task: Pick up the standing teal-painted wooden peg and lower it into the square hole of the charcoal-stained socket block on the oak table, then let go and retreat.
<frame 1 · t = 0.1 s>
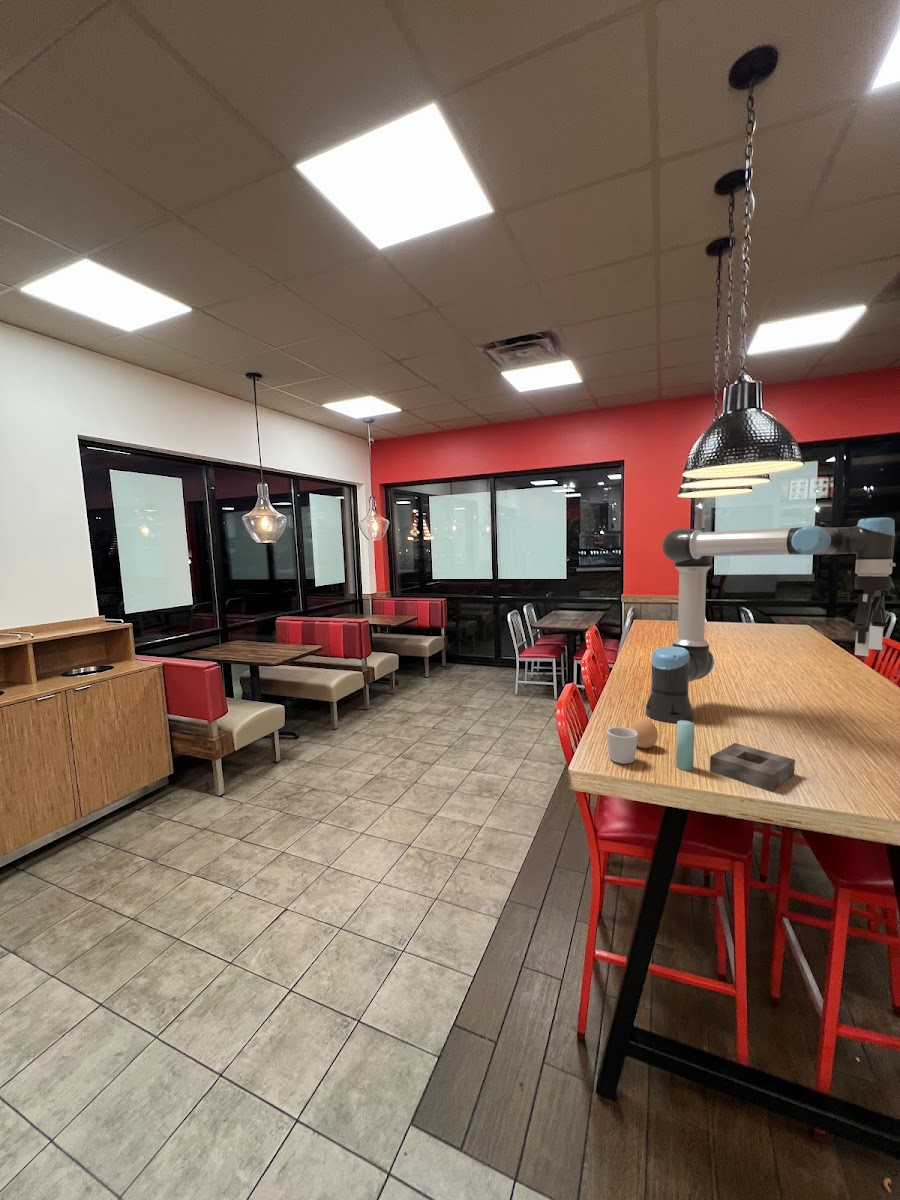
hand: (868, 652, 131), 28 cm above the table, fingers open, 13 cm apart
socket: (751, 772, 120), on the table
cup: (619, 758, 131), on the table
egg: (643, 748, 138), on the table
peg: (684, 767, 124), on the table
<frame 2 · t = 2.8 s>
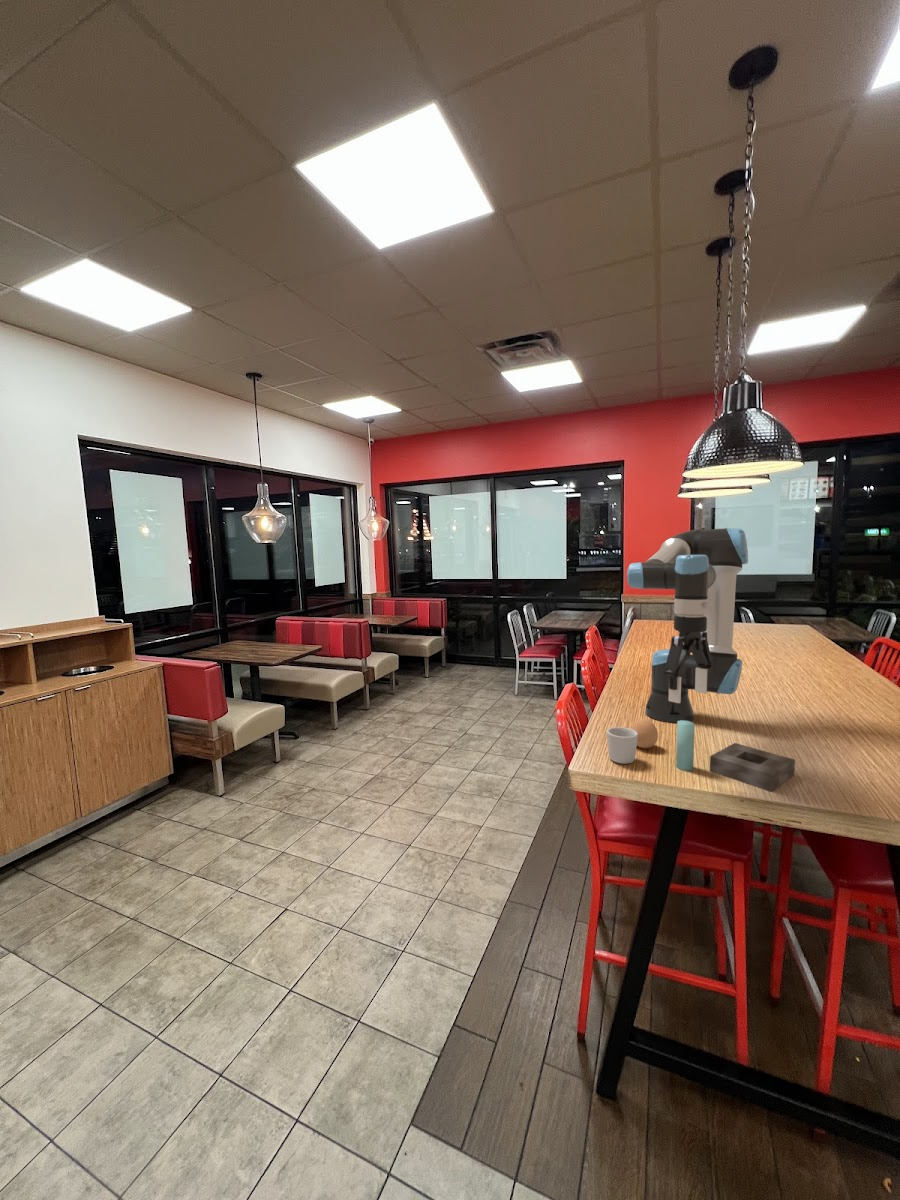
hand: (688, 697, 122), 19 cm above the table, fingers open, 13 cm apart
nothing on the table moved.
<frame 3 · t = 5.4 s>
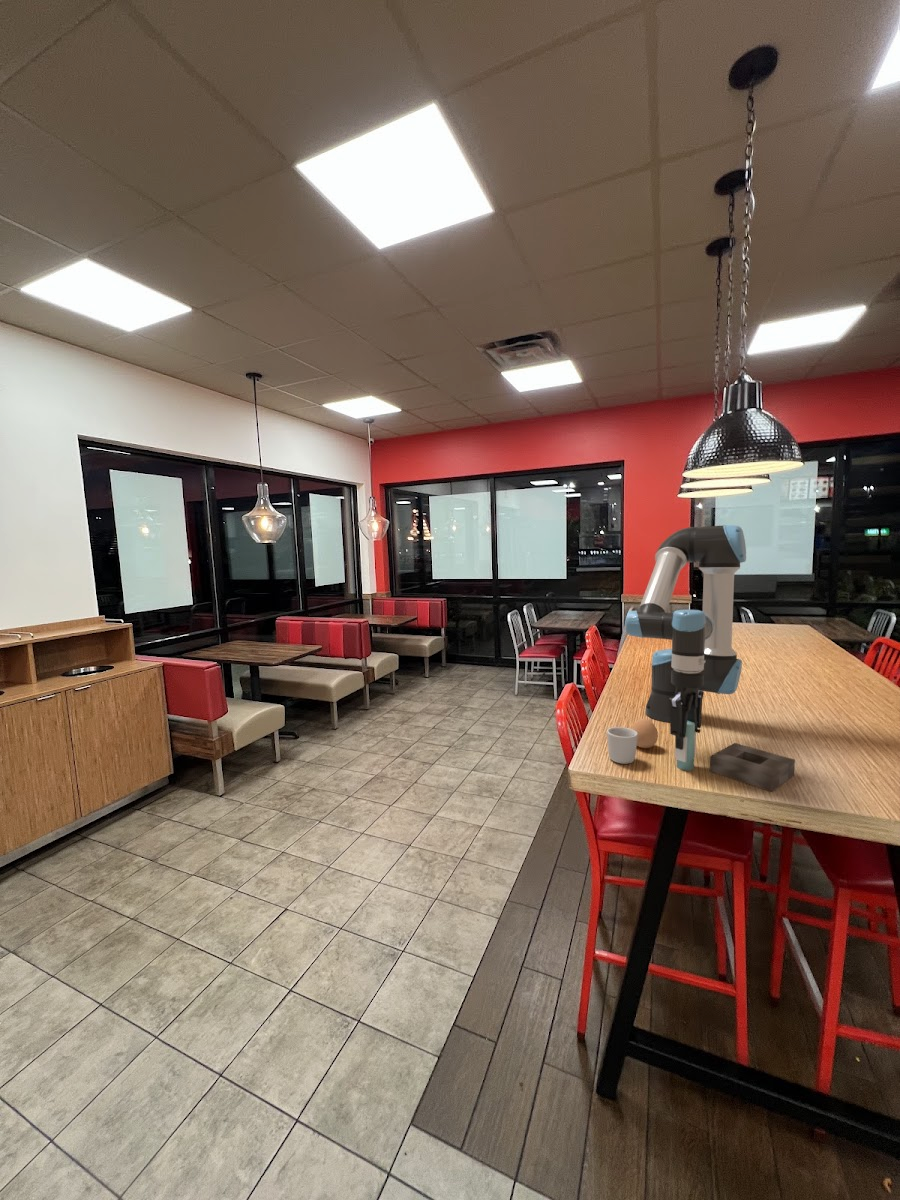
hand: (685, 757, 124), 3 cm above the table, fingers closed on peg, 4 cm apart
peg: (685, 767, 124), on the table, touching gripper
everything else where it was.
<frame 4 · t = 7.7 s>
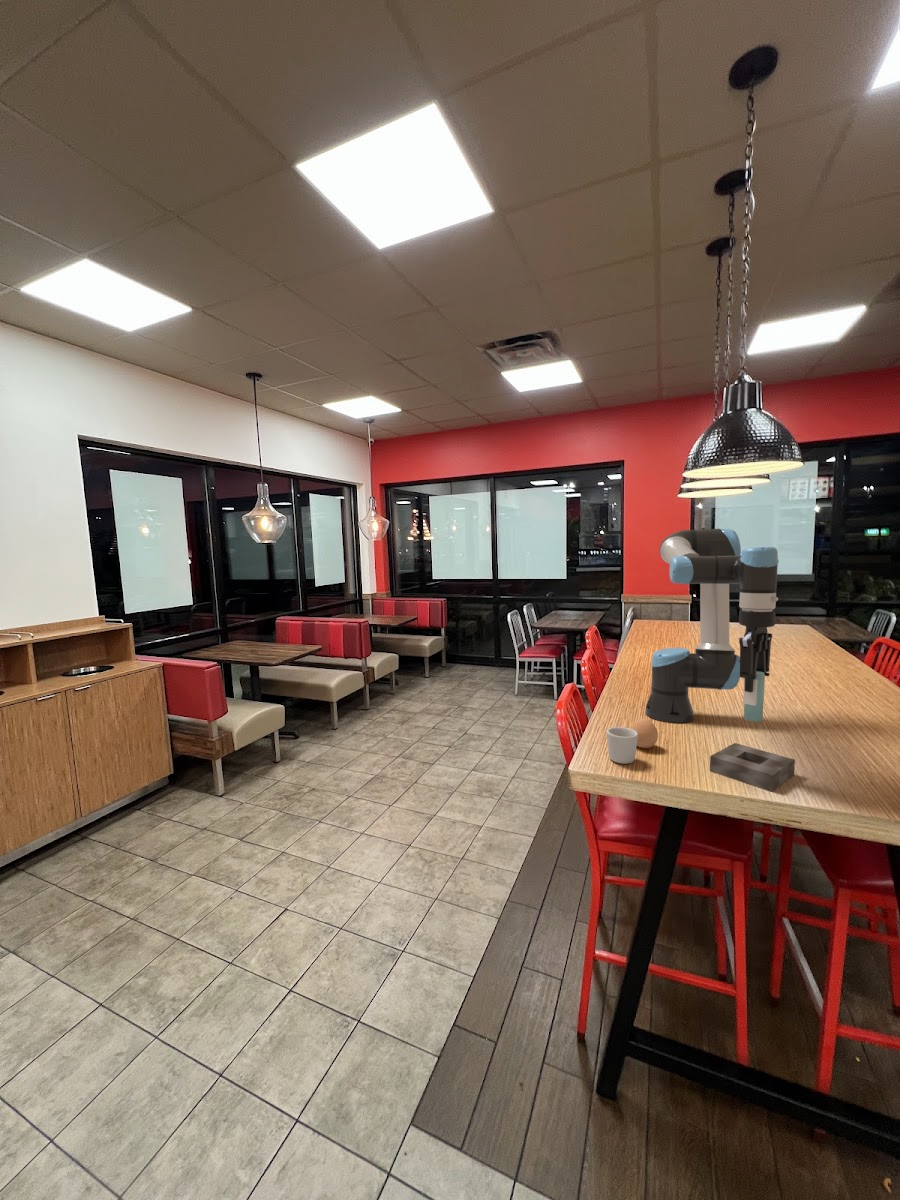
hand: (753, 702, 119), 18 cm above the table, fingers closed on peg, 4 cm apart
peg: (753, 719, 119), point 14 cm above the table, touching gripper
everything else where it was.
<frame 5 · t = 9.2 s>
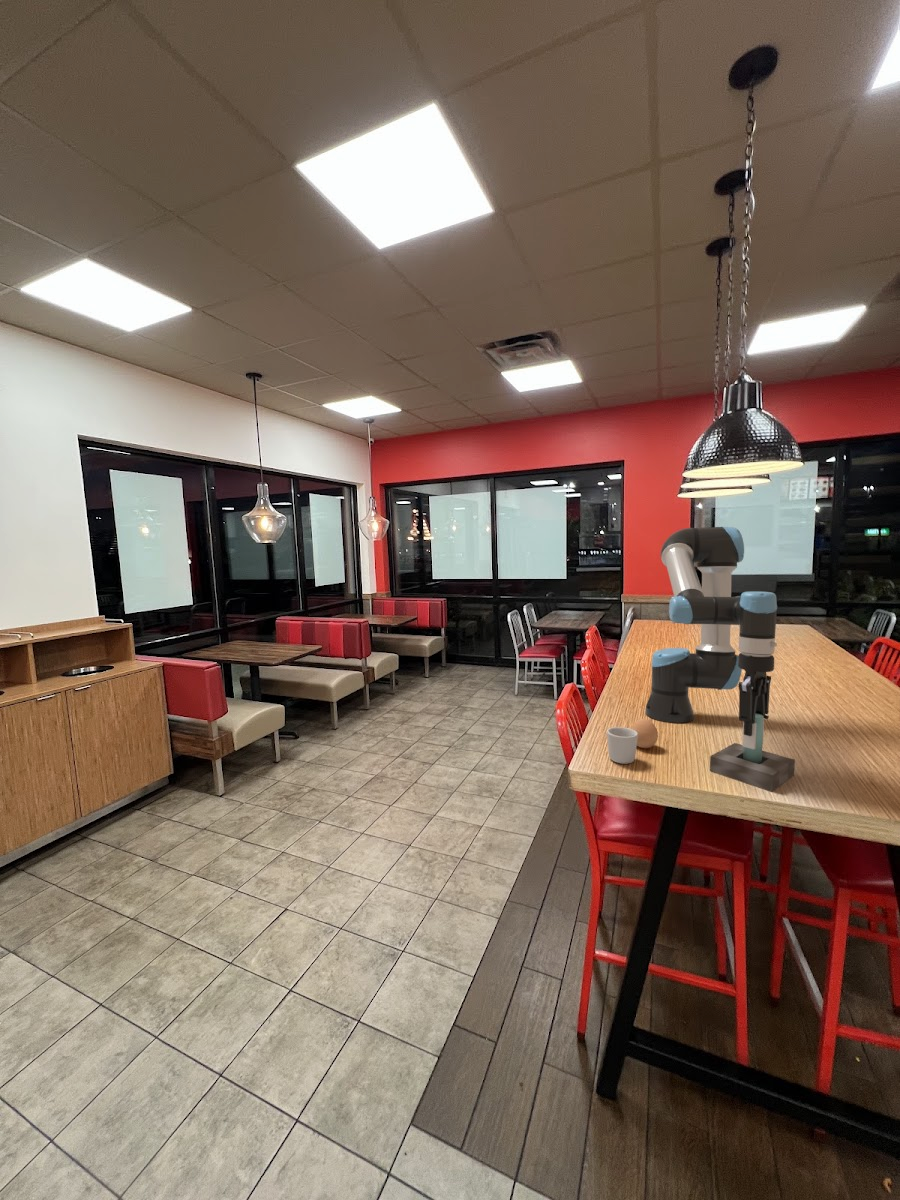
hand: (752, 745, 120), 7 cm above the table, fingers closed on peg, 4 cm apart
peg: (752, 761, 120), point 3 cm above the table, touching gripper
everything else where it was.
when the fingers open (5 cm above the table, at t = 10.2 s): peg stays where it is, resting in socket.
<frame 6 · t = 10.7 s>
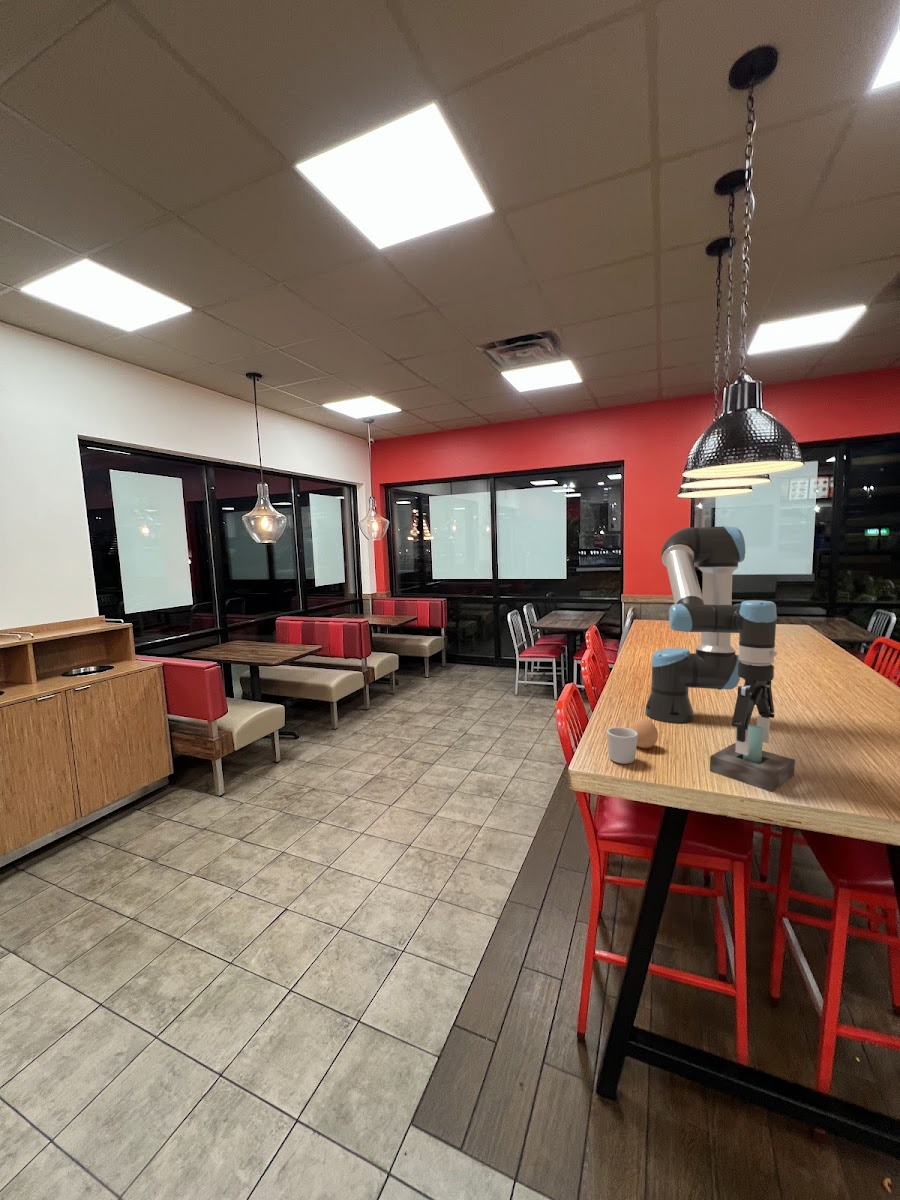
hand: (752, 747, 120), 7 cm above the table, fingers open, 11 cm apart
peg: (751, 773, 120), resting in socket
everything else where it was.
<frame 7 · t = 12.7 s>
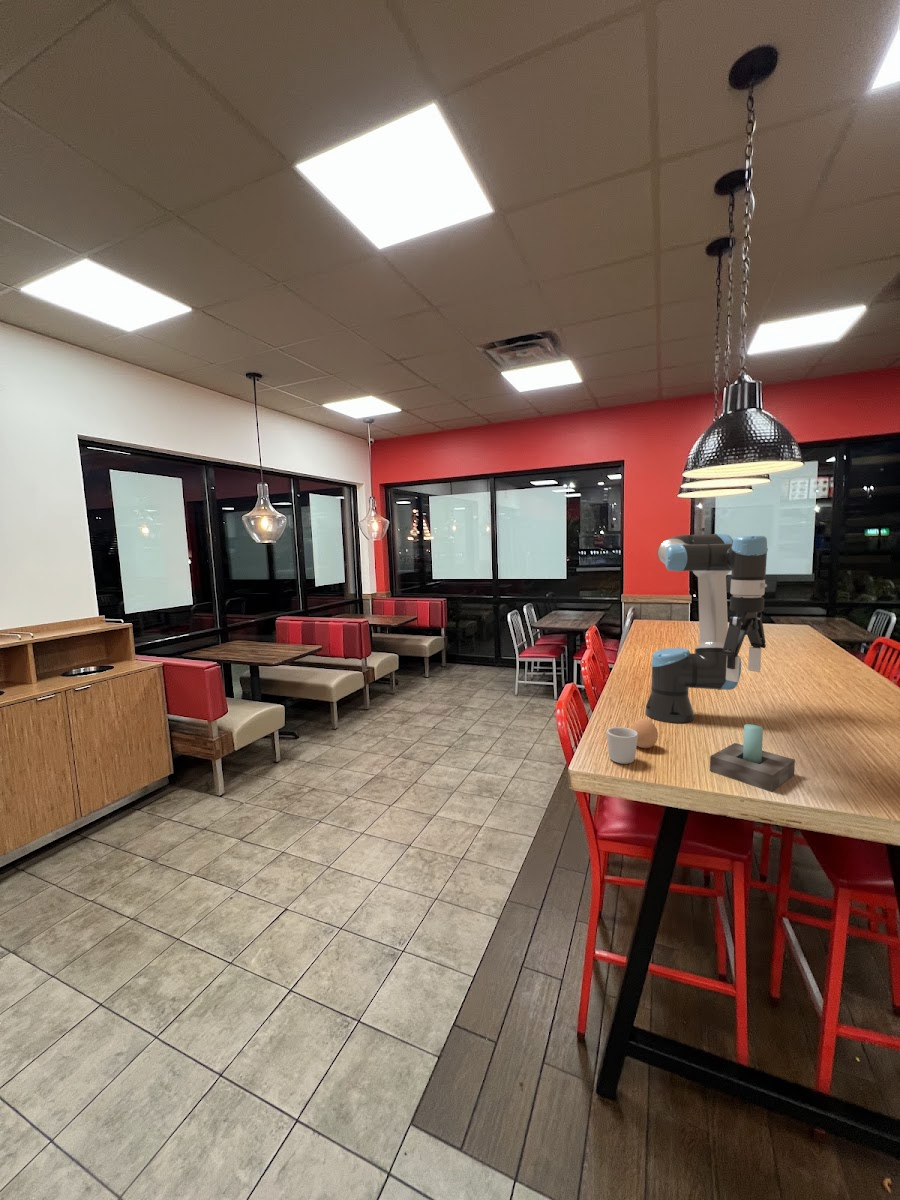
hand: (743, 675, 125), 23 cm above the table, fingers open, 13 cm apart
nothing on the table moved.
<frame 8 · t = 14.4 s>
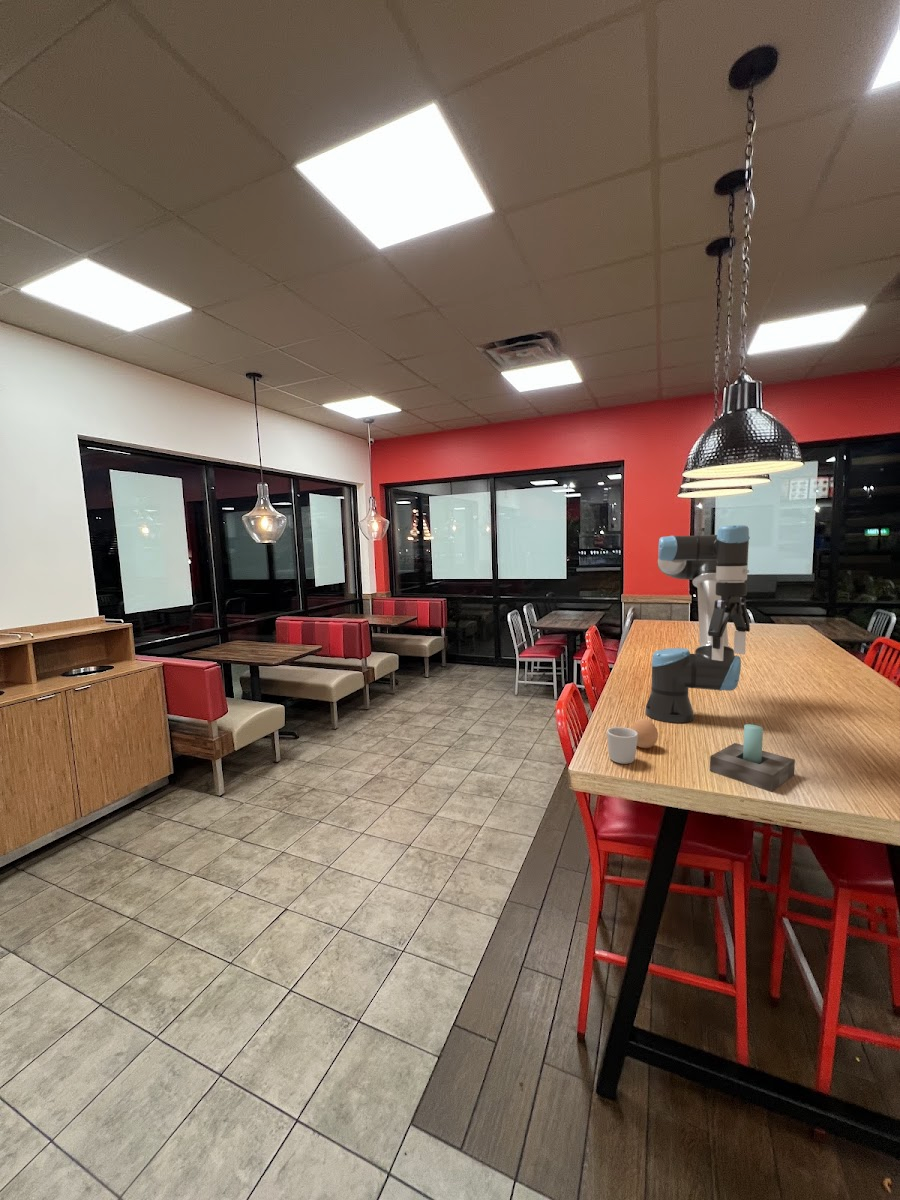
hand: (728, 657, 134), 27 cm above the table, fingers open, 13 cm apart
nothing on the table moved.
at the end: peg 0.0 cm off-centre on the socket, point 0.0 cm above the socket's base; peg tilted 0°; the gripper is holding nothing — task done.
